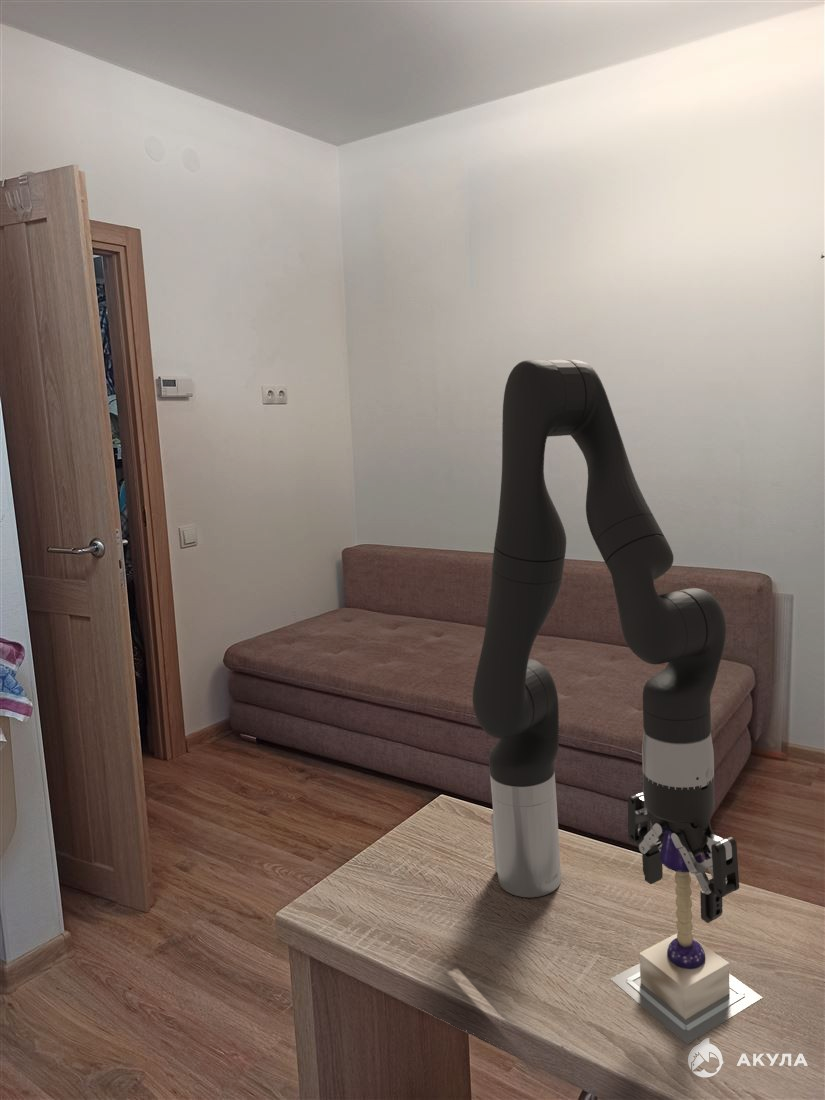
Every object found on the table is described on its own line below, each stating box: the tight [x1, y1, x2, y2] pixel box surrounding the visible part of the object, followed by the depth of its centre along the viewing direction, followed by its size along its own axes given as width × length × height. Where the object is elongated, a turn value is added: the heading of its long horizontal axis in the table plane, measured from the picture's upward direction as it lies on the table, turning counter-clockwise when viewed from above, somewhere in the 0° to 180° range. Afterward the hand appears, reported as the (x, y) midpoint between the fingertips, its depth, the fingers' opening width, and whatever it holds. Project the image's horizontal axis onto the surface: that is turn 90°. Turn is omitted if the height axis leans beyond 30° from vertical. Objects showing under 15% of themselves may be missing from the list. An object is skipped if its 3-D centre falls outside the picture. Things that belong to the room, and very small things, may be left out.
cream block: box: [639, 932, 730, 1019], centre depth 96 cm, size 7×7×4 cm
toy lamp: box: [660, 829, 706, 969], centre depth 93 cm, size 5×5×17 cm
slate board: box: [609, 962, 764, 1045], centre depth 96 cm, size 12×12×1 cm
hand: (681, 899), depth 94 cm, fingers open, 8 cm apart
